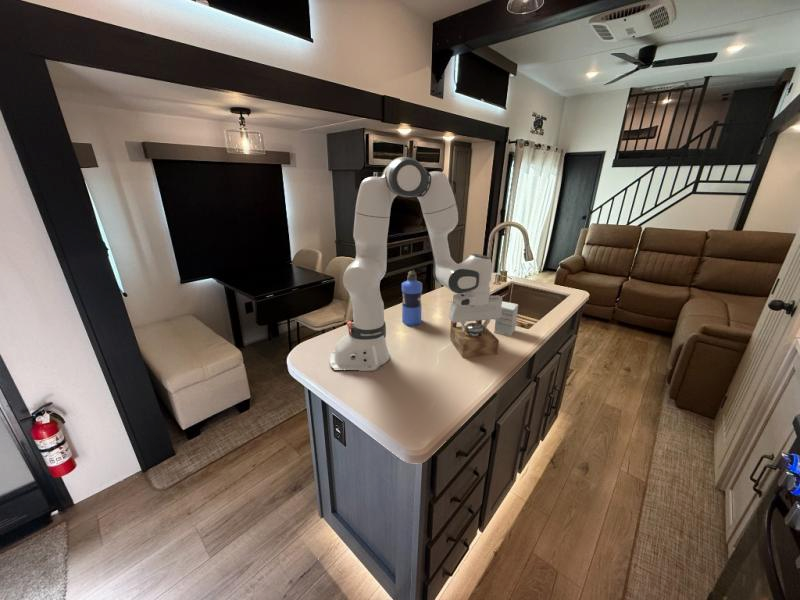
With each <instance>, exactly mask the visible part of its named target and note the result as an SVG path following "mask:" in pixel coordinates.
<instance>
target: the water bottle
mask: <svg viewBox="0 0 800 600" xmlns="http://www.w3.org/2000/svg"><path fill="white" fill-rule="evenodd" d="M407 274H408V275H407V278H406V279H407V280H405V281H403V282H402V283H401V293H402V304H401V308H402V309H401V311H402V312H401V315H402V316H401V320H402V322H403V323H404V324H403V323H402V324H403V325H405V326H408V325H409V327H415V326H416V327H417V326H419V325H421V323H422V311H423V310H422V294H423V293H422V292H423V283H422V282H421V281H418V280H417V279H418V278H417V272H416V271H415V270H414V269H411V270H409V271H408V272H407Z"/></svg>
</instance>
